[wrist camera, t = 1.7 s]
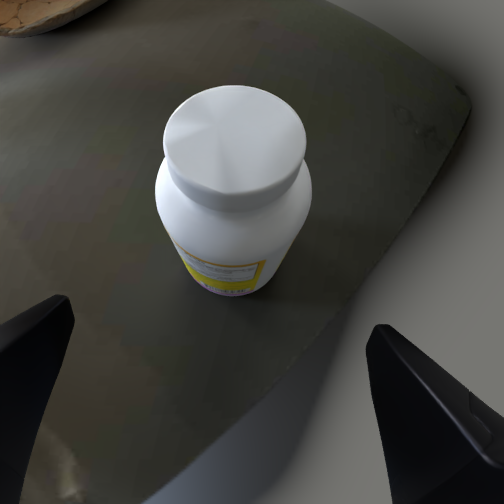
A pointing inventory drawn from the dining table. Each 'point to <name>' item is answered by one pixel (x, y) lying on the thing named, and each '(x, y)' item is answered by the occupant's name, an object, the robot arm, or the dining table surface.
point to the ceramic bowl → (40, 15)
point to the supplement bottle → (233, 186)
